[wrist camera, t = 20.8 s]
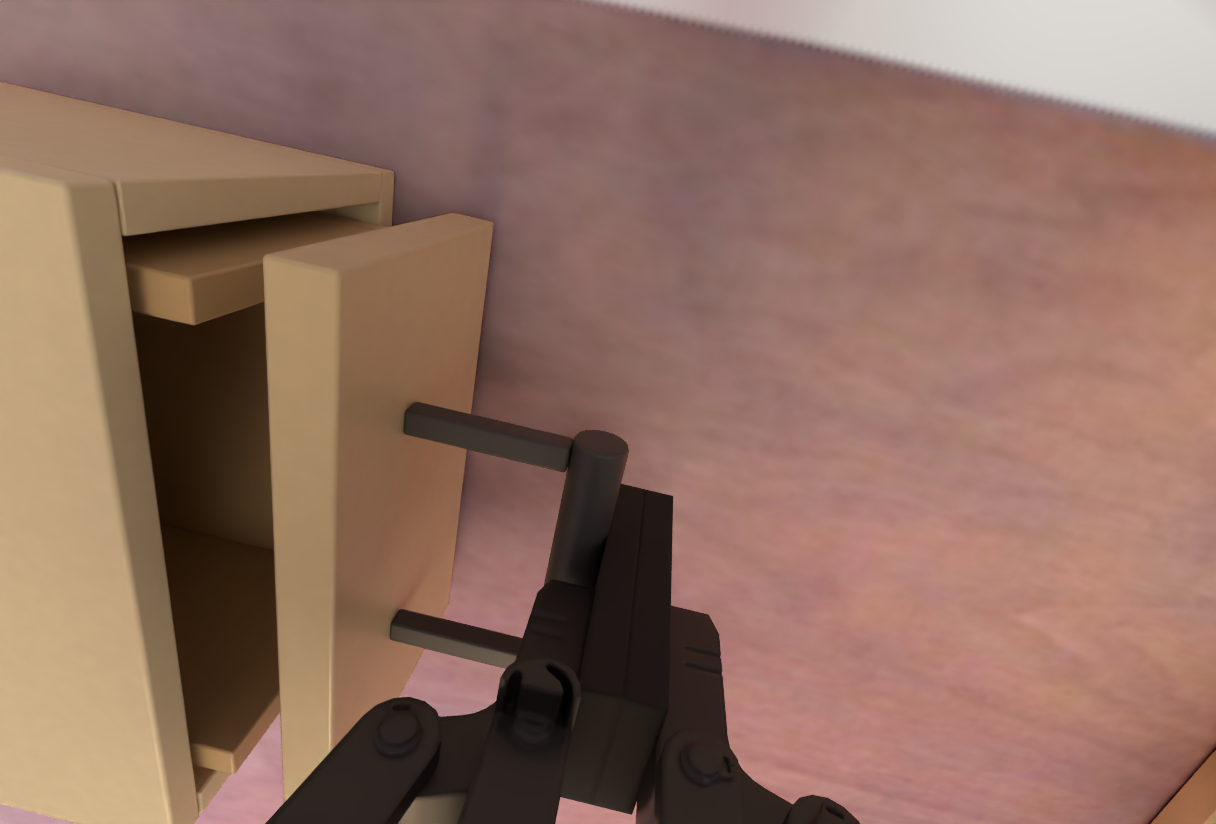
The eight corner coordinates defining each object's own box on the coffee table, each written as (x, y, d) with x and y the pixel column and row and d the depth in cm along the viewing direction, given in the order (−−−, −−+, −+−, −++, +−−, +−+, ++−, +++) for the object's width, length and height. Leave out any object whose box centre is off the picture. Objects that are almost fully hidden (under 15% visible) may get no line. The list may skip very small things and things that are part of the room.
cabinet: (395, 171, 16) (63, 182, 8) (375, 579, 22) (175, 851, 13) (-134, 50, 17) (-1041, -74, 8) (-16, 483, 23) (-459, 688, 14)
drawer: (669, 261, 16) (660, 346, 8) (579, 634, 21) (526, 878, 14) (-21, 103, 16) (-586, 57, 9) (65, 509, 21) (-243, 683, 14)
